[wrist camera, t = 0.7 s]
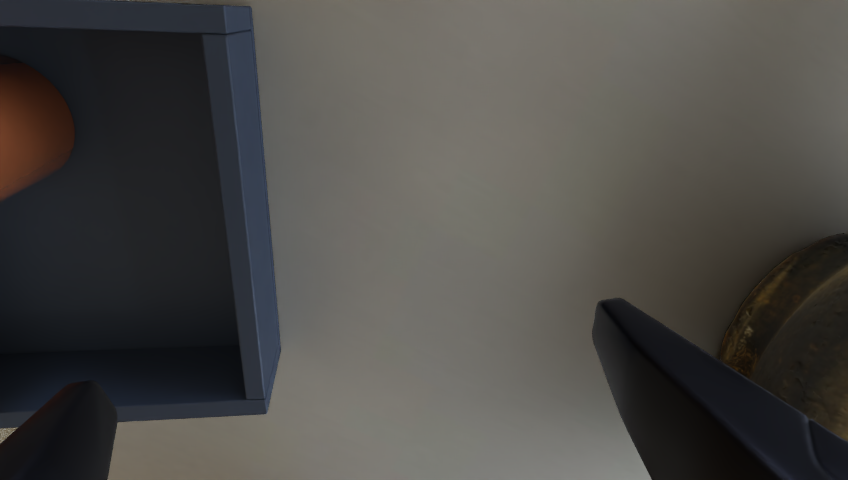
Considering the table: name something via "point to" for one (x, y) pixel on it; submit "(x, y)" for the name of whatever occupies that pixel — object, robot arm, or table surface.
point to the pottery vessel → (799, 333)
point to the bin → (142, 216)
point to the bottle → (30, 127)
